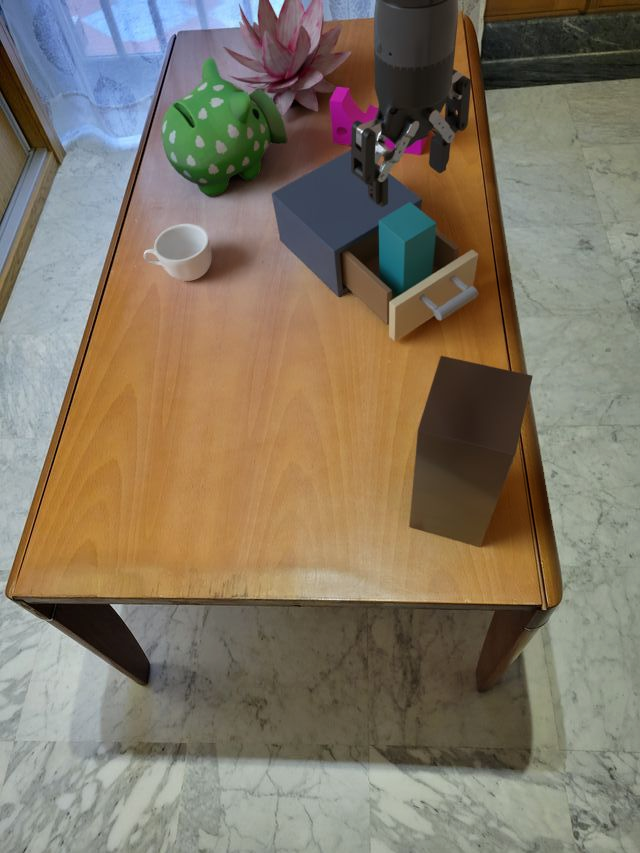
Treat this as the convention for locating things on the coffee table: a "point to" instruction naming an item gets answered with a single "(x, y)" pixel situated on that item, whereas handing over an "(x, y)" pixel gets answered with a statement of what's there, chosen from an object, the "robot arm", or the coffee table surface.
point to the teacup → (182, 251)
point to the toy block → (349, 112)
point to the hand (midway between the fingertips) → (408, 185)
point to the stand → (466, 447)
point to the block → (406, 248)
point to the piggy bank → (220, 132)
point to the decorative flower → (290, 52)
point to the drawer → (422, 300)
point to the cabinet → (332, 216)
